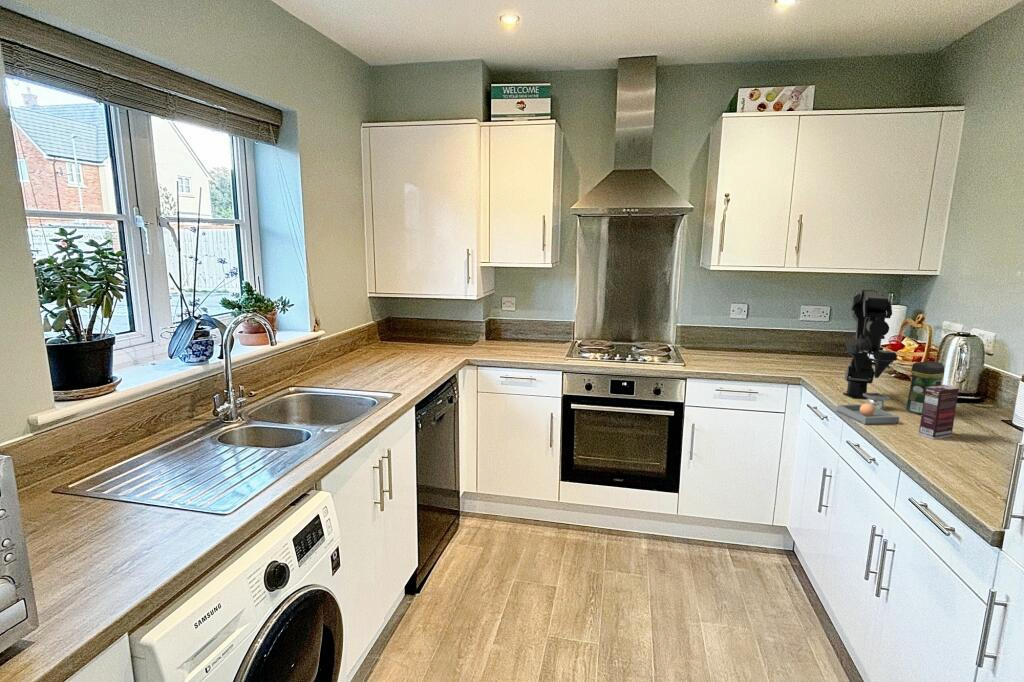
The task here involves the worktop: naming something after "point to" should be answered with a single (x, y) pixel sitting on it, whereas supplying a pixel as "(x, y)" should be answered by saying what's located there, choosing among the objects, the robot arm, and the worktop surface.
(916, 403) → the coffee jar
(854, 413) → the tray
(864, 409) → the ball
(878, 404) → the hollow square frame
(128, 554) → the worktop surface
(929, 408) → the supplement box
